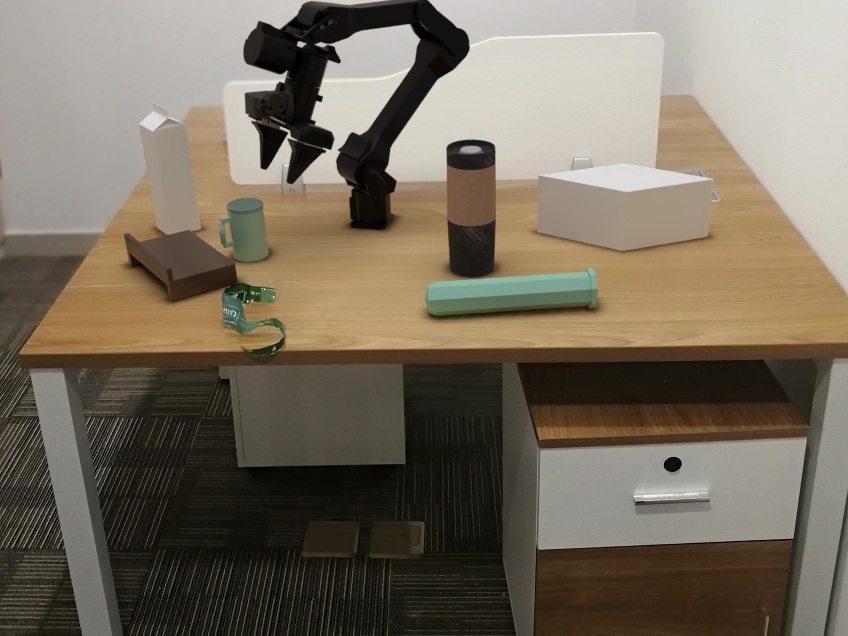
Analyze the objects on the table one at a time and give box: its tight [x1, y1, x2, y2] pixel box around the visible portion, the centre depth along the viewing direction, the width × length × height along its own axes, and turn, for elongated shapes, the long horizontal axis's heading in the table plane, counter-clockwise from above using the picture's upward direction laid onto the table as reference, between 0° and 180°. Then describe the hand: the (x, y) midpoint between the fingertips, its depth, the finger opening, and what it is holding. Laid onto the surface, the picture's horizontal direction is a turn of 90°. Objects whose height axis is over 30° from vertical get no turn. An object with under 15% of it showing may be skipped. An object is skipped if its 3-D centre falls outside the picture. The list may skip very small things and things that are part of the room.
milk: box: [138, 101, 202, 236], centre depth 176 cm, size 6×6×22 cm
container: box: [424, 267, 599, 317], centre depth 149 cm, size 6×6×25 cm
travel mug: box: [445, 138, 497, 278], centre depth 159 cm, size 8×8×20 cm
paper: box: [536, 162, 715, 252], centre depth 172 cm, size 14×29×10 cm, turn 83°
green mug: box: [218, 197, 269, 263], centre depth 168 cm, size 8×6×9 cm
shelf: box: [123, 230, 239, 303], centre depth 163 cm, size 11×18×5 cm, turn 36°
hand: (276, 176), depth 167 cm, fingers open, 9 cm apart
